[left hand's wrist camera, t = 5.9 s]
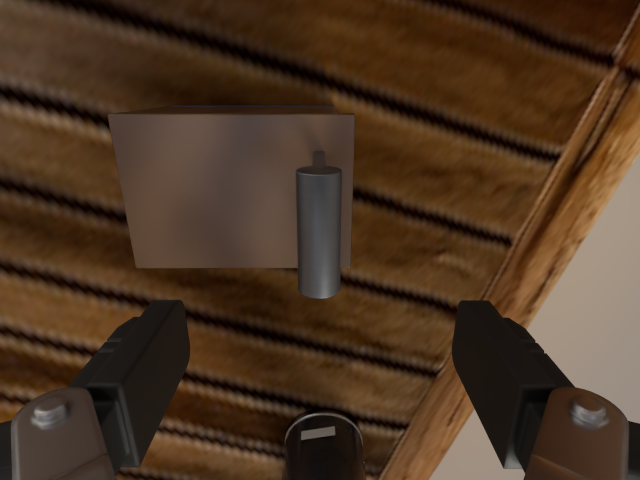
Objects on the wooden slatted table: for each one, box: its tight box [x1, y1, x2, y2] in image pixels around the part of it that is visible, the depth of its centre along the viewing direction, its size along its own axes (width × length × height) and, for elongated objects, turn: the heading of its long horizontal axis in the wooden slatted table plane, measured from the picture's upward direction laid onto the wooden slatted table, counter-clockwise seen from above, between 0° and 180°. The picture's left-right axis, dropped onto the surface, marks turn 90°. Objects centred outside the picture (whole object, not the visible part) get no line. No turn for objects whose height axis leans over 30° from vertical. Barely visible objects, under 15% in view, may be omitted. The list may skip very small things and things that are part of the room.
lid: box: [108, 113, 355, 299], centre depth 22 cm, size 15×10×9 cm
